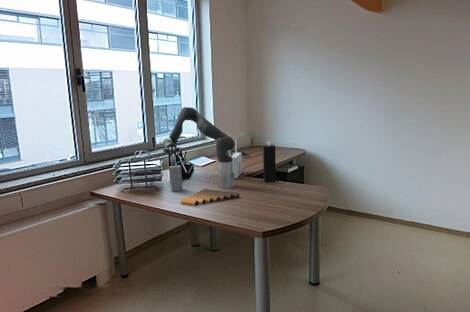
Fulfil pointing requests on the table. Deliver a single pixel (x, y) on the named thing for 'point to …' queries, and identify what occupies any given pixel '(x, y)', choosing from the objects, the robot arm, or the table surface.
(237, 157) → the skincare box
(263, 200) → the table surface
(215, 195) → the pan flute
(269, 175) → the black bottle
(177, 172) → the slate block
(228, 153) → the wireless router
